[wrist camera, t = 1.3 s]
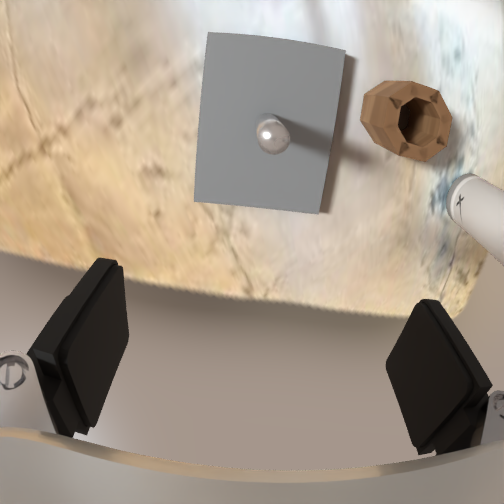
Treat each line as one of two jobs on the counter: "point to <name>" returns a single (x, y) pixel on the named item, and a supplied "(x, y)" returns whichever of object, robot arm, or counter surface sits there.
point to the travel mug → (479, 212)
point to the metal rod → (271, 134)
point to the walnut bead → (420, 120)
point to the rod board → (259, 102)
